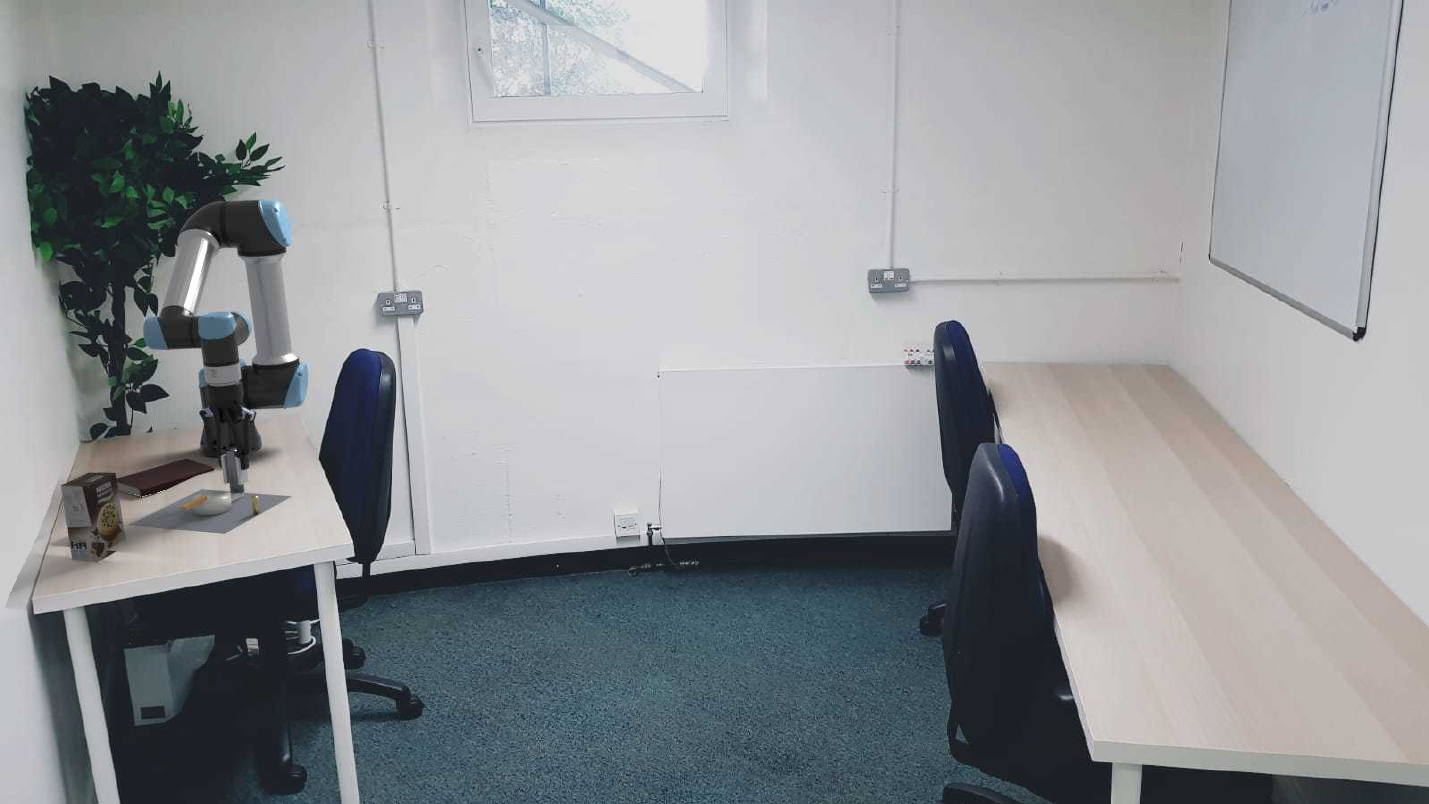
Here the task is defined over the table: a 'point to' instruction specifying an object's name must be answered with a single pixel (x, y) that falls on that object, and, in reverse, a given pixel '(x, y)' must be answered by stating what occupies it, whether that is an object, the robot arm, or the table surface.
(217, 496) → the white grey handled piece
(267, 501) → the dial base plate
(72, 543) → the cookie box
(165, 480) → the book
